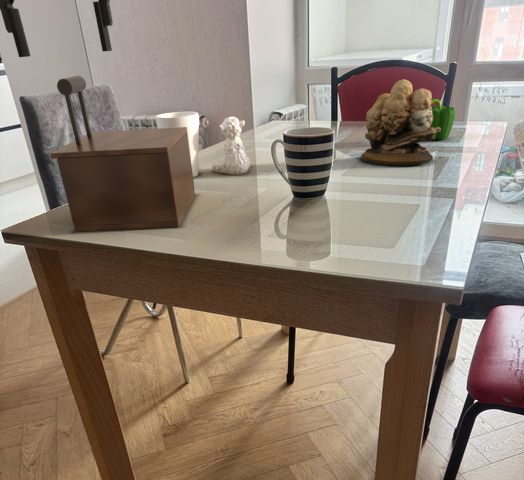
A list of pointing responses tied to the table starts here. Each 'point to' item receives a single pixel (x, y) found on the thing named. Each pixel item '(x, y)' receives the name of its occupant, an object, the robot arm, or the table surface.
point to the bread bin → (129, 189)
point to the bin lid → (110, 132)
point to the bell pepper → (442, 119)
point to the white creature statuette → (232, 149)
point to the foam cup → (192, 126)
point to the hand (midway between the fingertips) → (66, 54)
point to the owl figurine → (400, 127)
